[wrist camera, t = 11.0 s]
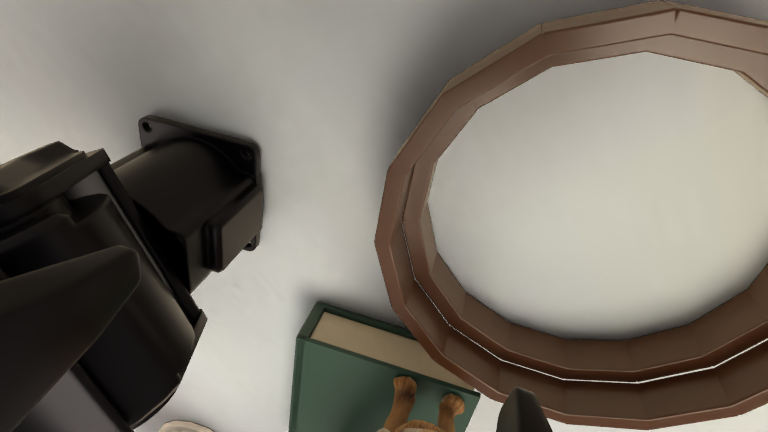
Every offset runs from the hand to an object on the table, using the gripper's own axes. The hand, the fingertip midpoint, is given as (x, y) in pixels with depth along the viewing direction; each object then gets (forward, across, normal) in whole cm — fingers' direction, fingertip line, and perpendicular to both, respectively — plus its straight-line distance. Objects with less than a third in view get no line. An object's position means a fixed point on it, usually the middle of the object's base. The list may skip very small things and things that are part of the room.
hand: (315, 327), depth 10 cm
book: (+12, -2, +19) cm, 22 cm away
